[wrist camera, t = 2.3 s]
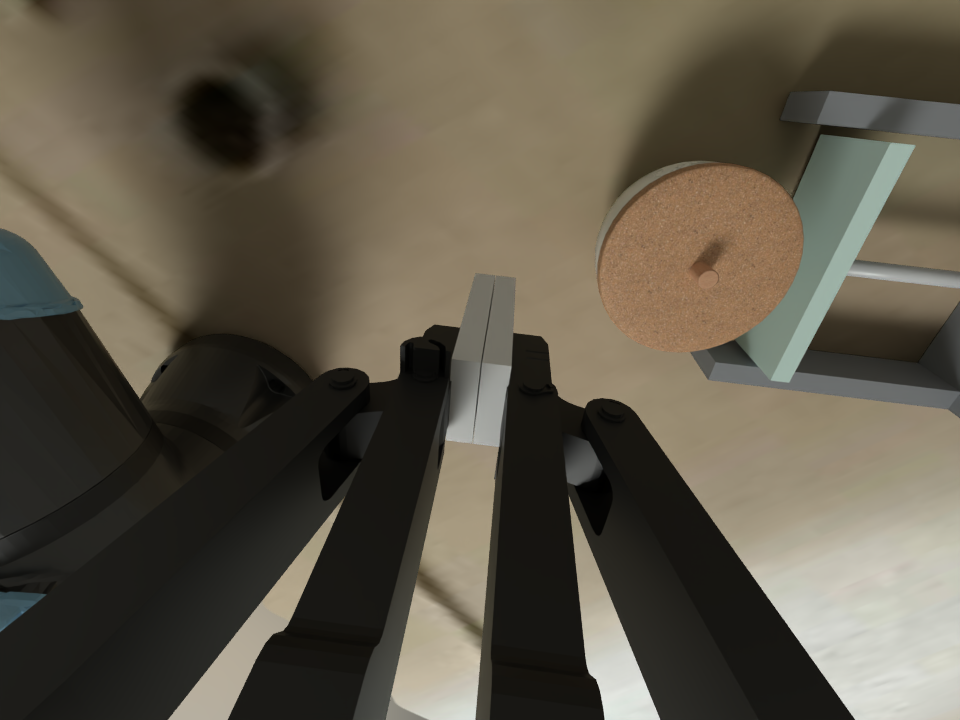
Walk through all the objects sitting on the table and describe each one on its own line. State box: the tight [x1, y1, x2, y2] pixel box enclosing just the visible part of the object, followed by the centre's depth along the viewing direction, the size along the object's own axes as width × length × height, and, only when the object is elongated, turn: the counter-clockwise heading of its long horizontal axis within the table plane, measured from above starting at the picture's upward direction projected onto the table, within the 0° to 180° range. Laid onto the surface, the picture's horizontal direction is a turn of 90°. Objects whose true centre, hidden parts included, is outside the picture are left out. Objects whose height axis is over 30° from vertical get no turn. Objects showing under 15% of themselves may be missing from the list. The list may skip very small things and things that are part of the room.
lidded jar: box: [595, 161, 804, 352], centre depth 27 cm, size 11×11×9 cm
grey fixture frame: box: [691, 91, 960, 418], centre depth 28 cm, size 18×18×7 cm
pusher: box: [735, 134, 960, 383], centre depth 28 cm, size 17×14×6 cm
